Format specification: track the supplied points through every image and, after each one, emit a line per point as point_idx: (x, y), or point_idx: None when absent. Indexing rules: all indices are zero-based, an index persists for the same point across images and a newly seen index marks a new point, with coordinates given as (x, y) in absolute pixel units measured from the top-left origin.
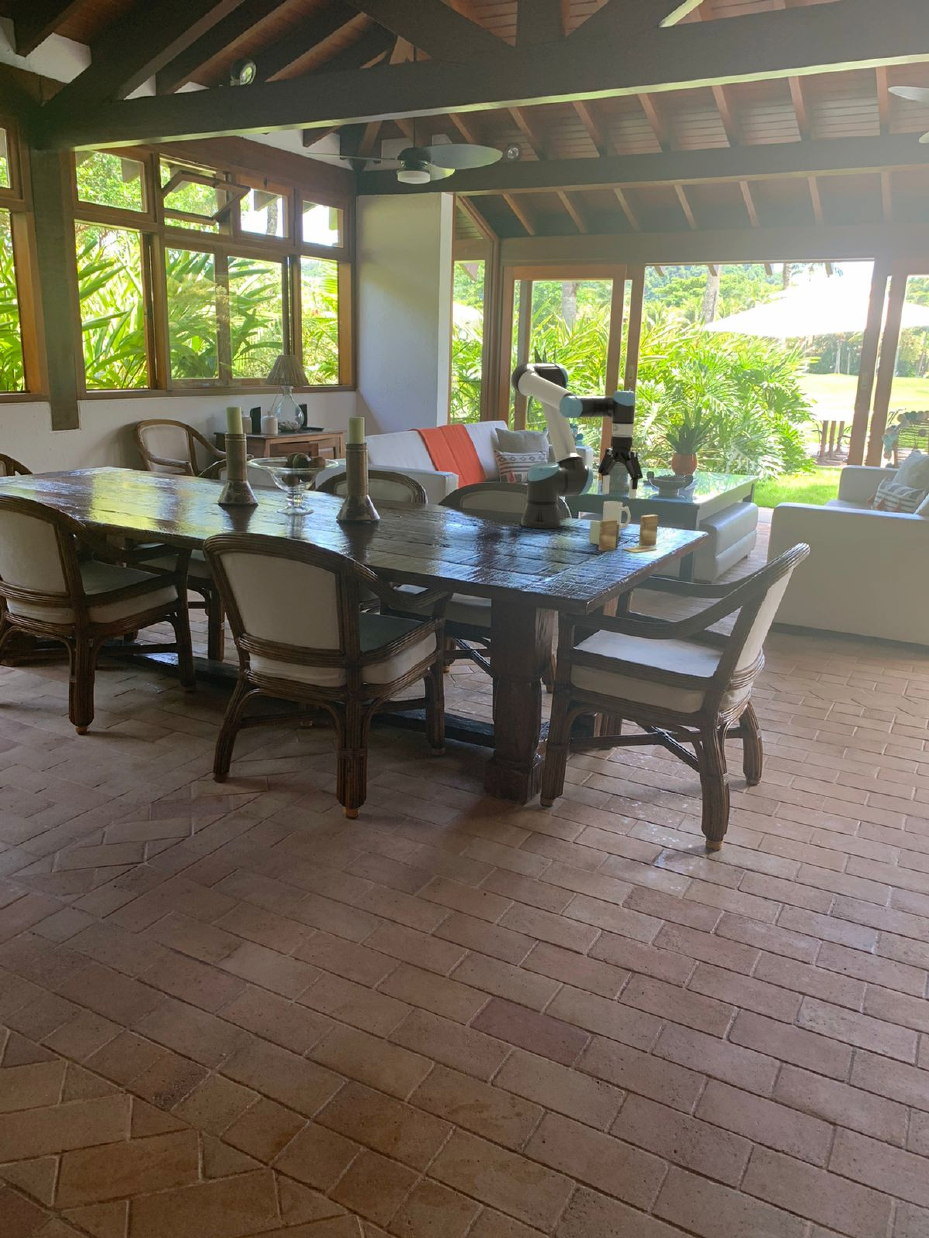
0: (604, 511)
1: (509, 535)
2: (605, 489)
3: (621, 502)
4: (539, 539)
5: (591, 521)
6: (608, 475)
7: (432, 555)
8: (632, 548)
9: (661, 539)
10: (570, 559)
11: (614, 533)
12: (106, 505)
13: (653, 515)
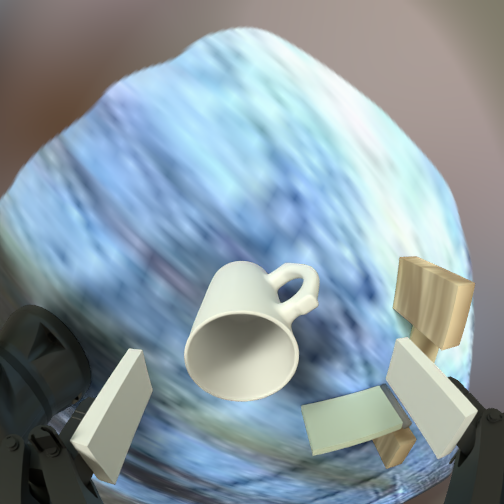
0: (232, 373)
1: (144, 462)
2: (139, 396)
3: (263, 316)
4: (203, 455)
5: (316, 453)
6: (73, 443)
7: None
8: None
9: (383, 181)
10: (369, 469)
11: None
12: None
13: (465, 299)
